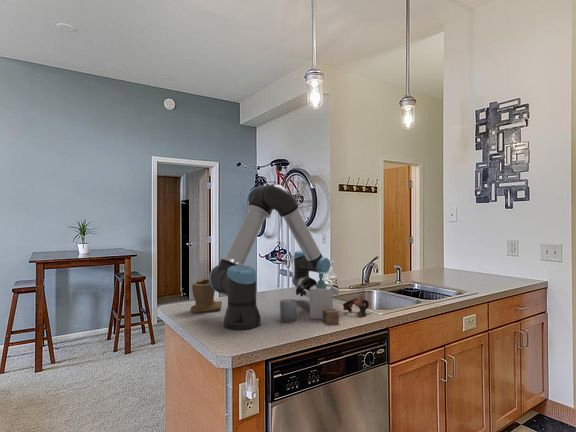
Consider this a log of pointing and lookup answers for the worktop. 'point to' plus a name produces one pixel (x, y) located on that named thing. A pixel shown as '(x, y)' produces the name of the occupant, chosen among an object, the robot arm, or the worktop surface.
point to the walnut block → (330, 316)
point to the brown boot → (204, 297)
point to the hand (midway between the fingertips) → (324, 293)
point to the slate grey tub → (288, 310)
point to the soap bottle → (320, 298)
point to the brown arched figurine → (359, 304)
